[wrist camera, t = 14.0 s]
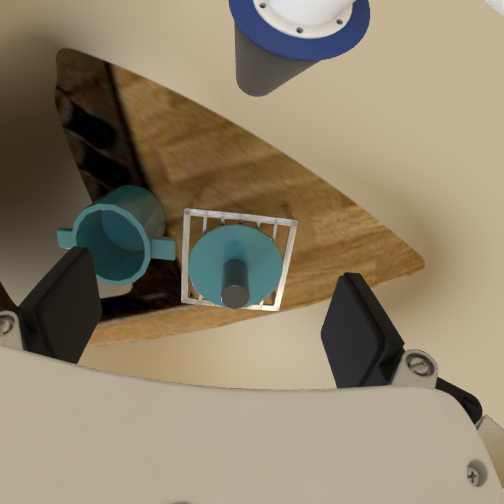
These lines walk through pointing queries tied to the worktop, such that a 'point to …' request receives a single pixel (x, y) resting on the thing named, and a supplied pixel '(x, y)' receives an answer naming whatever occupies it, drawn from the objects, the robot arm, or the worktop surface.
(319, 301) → the worktop surface
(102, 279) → the pot
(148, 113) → the worktop surface
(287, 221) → the rack
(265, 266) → the lid
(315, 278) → the worktop surface
